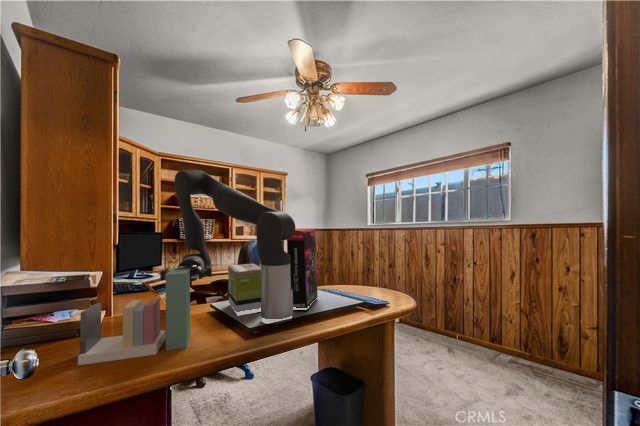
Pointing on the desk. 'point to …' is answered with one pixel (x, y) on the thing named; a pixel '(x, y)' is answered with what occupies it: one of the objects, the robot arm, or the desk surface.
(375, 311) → the desk surface
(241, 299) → the tea box
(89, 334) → the bookend
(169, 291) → the book
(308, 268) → the graphics card box
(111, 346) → the shelf
